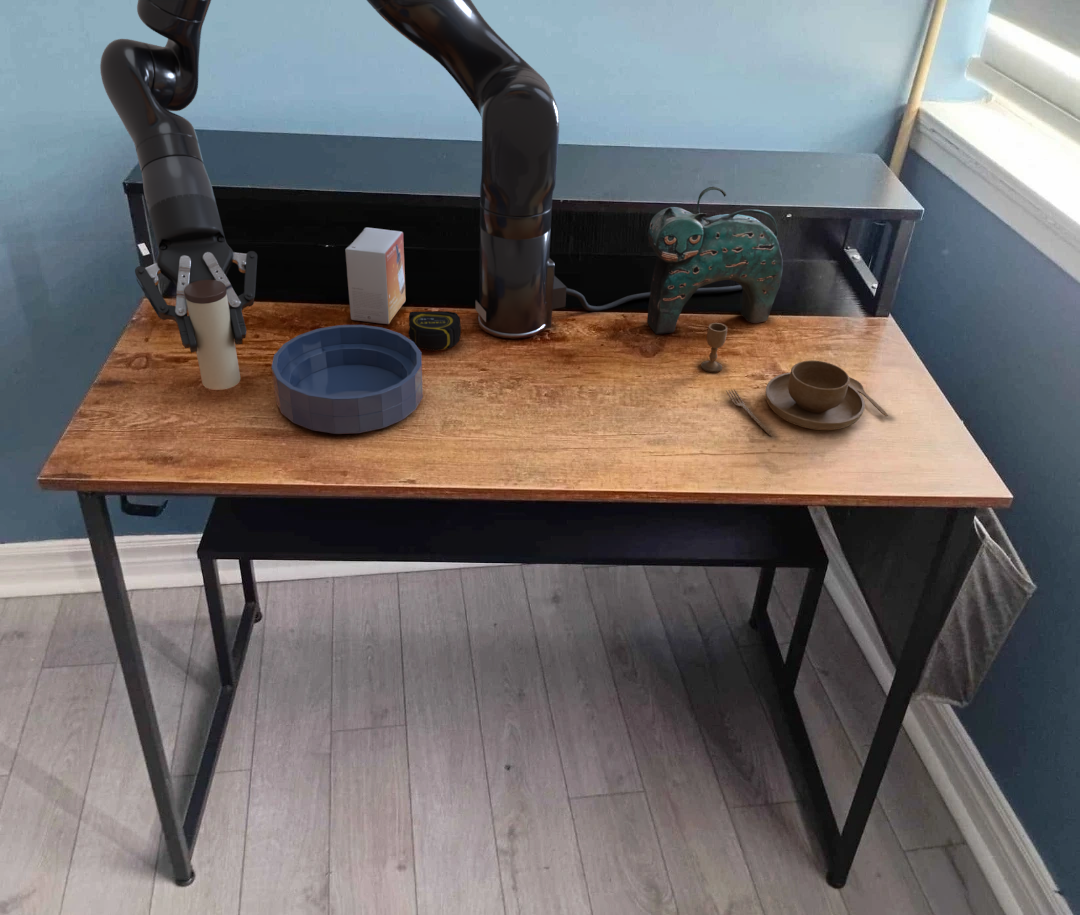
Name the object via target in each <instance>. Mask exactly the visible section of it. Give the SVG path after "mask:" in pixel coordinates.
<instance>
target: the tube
mask: <svg viewBox="0 0 1080 915" xmlns="http://www.w3.org/2000/svg"><path fill="white" fill-rule="evenodd" d="M184 294H185V298H186V302H187V307H188V312H187V313H188V316H190V319H191V323H192V327H193V332H194V336H195V340H196V344H197V352H195V353H196V358H197V364H198V368H199V375H200V379H201V384H202V385H203V387H204V388H205V389H208V390H213V391H223V390H228V389H232V388H234V387H235V386H237V385H238V384H239V383H240V382H241V378H242V377H241V371H240V366H239V359H238V354H237V348H236V344H235V340H234V335H233V329H232V323H231V317H230V311H229V305H228V299H227V290H226V286H225V284H224V283H223V282H220V281H217V280H200V281H196V282H193V283H190V284H189V285H187V286H186V287H185V288H184Z"/></svg>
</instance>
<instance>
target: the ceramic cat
mask: <svg viewBox="0 0 1080 915" xmlns="http://www.w3.org/2000/svg"><path fill="white" fill-rule="evenodd" d="M709 191H718V192H720V193H721V194H722V195H723V197H726V196H727V193H726V192H725V190H724V189H722V188H721V187H718V186H709V187H707V188H705V189H703V190H702V191H701V192H700V193H699V195H698V199H697V201H696V212H697V213H693V212H690V211H688V210H686V209H684V208H682V207H677V206H670V207H666V208H663V209H661V210H659V211H658V212H656V213H655V214H654V216H653V217H652V218H651V221H650V223H649V227H648V230H647V231H648V232H647V238H648V242H649V245H650V247H651V248H652V250H653V251H654V253H655V254H656V255H657V258H656V261H655V263H654V264H655V265H654V268H653V273H652V277H651V281H650V291H649V292H650V298H648V299H649V300H648V307H647V316H646V317H647V318H646V323H647V325H648V326H649V328H650V329H651V330H652V331H653V333H654V334H655V335H663V334H672V333H674V332H675V331H676V328H677V323H678V321H679V318H680V316H681V314H682V312H683V309H684V307H685V305H687V303H688V302H689V300H690V299H691V298H692V296H693V295H695V294H694V293H695V292H696V290H697V289H699V288H703V287H704V286H707V285H710V284H713V283H718V282H721V281H732V282H735V283H737V284H738V285H741V286H742V288H743V289H742V301H741V307H740V315H741V316H742V317H743V318H744V319H745V321H746V322H748V323H754V324H758V323H763V322H767V321H768V320H769V316H770V314H771V310H772V307H773V304H774V302H775V299H776V297H777V294H778V291H779V289H780V286H781V282H782V276H783V270H784V260H783V258H784V257H783V255H782V250H781V247H780V242H779V240H778V239H777V238H778V236H779V231H778V230H779V229H778V224H777V221H776V219H775V217H773V215H771V213H769V212H767V211H764V210H760V209H754V208H752V209H751V208H747V209H741V210H737V211H734V212H732V213H731V212H730V213H725V214H717V215H713V216H708V217H706V216H707V215H708V213H705V212H700V202H701V199H702V197H703V196H704V195H705V194H706V193H708V192H709ZM745 213H752V214H756V215H763V216H765V217H767V218H768V219H769V220H770V221H771V222H772V224H773V226H774V232H773V230H771V229H770V228H769V227H768V226H767V225H765V224H764V223H762V221H760V220H759V219H757V218H755V217H752V216H751V215H745Z"/></svg>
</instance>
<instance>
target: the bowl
mask: <svg viewBox="0 0 1080 915" xmlns="http://www.w3.org/2000/svg"><path fill="white" fill-rule="evenodd" d="M422 359H423V358H422V351H421V349H420V348H418V347H417V346H416V344H415V343H414V342H413V341H412V340H411V339H410V338H409V337H407V336H406V335H404V334H402V333H400V332H398V331H395V330H391V329H388V328H385V327H380V326H373V325H365V324H337V325H330V326H326V327H319V328H316V329H313V330H310V331H306V332H304V333H301V334H298V335H296V336H295V337H293V338H291V339H289V340H288V341H286V342H284V343H283V344H282V345H281V346H280V347H279V349H277V351H276V352H275V353H274V354H273V357H272V363H271V375H272V383H273V389H274V397H275V402H276V404H277V407H278V409H279V411H280V413H281V414H282V415H283V416H284V417H285V418H286V419H288V420H289V421H291V422H292V424H295V425H298V426H300V427H303V428H305V429H308V430H311V431H314V432H315V431H316V432H321V433H329V434H335V435H342V434H362V433H367V432H371V431H377V430H381V429H385V428H387V427H389V426H392V425H394V424H397V423H399V422H402V421H404V420H405V419H406V418H407V417H408V416H410V415H411V414H412V413H414V412H415V411H416V410H417V409H418V406H419V405H420V403H421V401H422V399H423V397H424V394H423V393H424V392H423V361H422Z"/></svg>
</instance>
